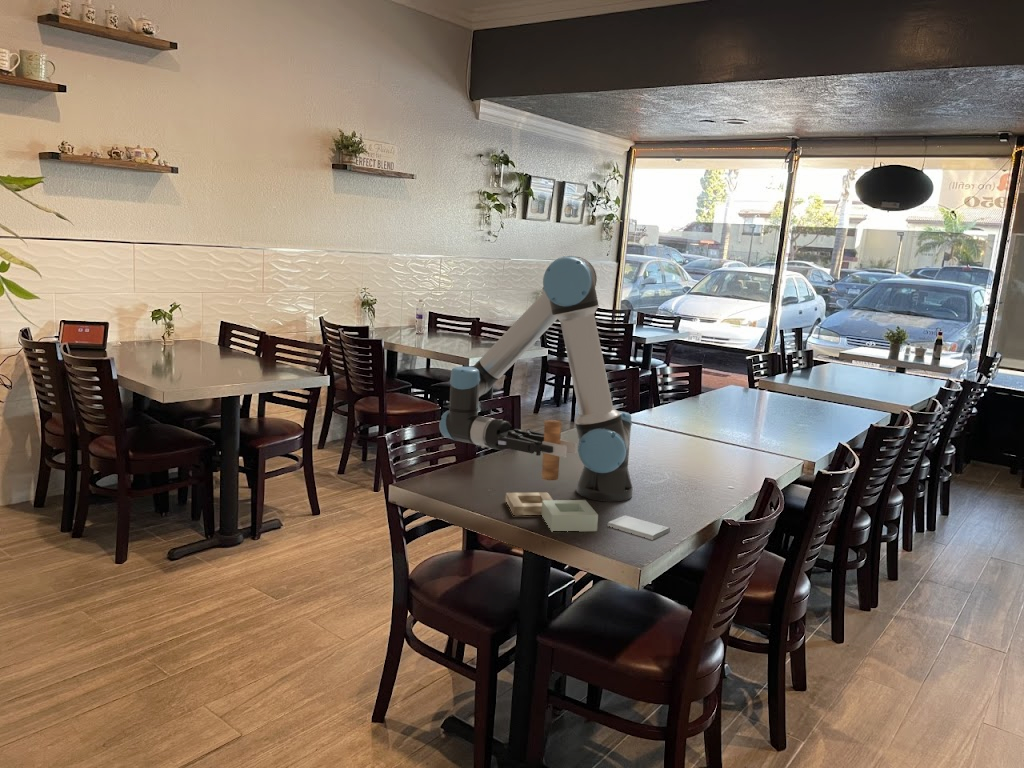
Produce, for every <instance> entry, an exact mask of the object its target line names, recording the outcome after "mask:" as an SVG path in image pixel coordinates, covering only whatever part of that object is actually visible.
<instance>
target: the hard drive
mask: <svg viewBox="0 0 1024 768" xmlns="http://www.w3.org/2000/svg"><path fill="white" fill-rule="evenodd" d="M609 526H610V527H609ZM607 527H609V528H612V527H613V528H612V529H616V530H618V529H619V531H621V532H626V533H627V534H631V533H632V535H635V536H638V537H642V538H644V537H645V539H648V540H651V541H653V540H656V539H658V538H660V537H662V536H665V535H666V534H668V533H671V528H670V527H667V526H664V525H661V524H658V523H654V522H652V521H651V522H650V521H647V520H643V519H639V518H636V517H632V516H629V515H622V516H619V517H617V518H614V519H612V520H610V521H608V522H607Z"/></svg>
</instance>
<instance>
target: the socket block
mask: <svg viewBox="0 0 1024 768" xmlns="http://www.w3.org/2000/svg"><path fill="white" fill-rule="evenodd" d="M541 515H542V517H543V518H544V520H545V521H544V520H543V521H544V522H546V523H547V524H546V523H545V524H546V525H548V526H547V528H548V529H549V528H550V529H549V531H551V533H554V532H553V531H567V532H566V533H569V532H568V531H579V532H597V531H598V523H599V522H598V521H599V514H598V512H596V511H595V509H593V507H592V506H591V504H589V502H588V501H587V500H586V499H566V500H565V499H561V500H559V499H555V500H554V499H553V500H542V511H541ZM542 517H541V518H542ZM543 518H542V519H543Z"/></svg>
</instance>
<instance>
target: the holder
mask: <svg viewBox="0 0 1024 768" xmlns="http://www.w3.org/2000/svg"><path fill="white" fill-rule="evenodd" d="M542 500H554V499H553V498H552V496H551V495H550V494H549V493H548V492H546V491H545V492H544V491H543V492H539V491H538V492H537V491H536V492H505V503H506V502H507V504H508V505H509V507H510V509H511V511H512V513H513V515H541V511H542ZM507 504H506V505H507ZM510 509H509V510H510ZM511 511H510V512H511ZM512 513H511V514H512ZM513 515H512V516H513Z"/></svg>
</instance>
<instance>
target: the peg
mask: <svg viewBox="0 0 1024 768" xmlns="http://www.w3.org/2000/svg"><path fill="white" fill-rule="evenodd" d="M543 430H544V431H543V433H544V441H546V442H550V443H555V444H560V439H561V434H562V421H561V420H557V419H556V420H555V419H549V420H544V429H543ZM541 467H542V468H541V479H543V480H544V481H558V480H559V474H560V473H559V472H560V471H559V470H560V469H559V468H560V457H559V456H555V455H550V454H546V453H542V464H541Z"/></svg>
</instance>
